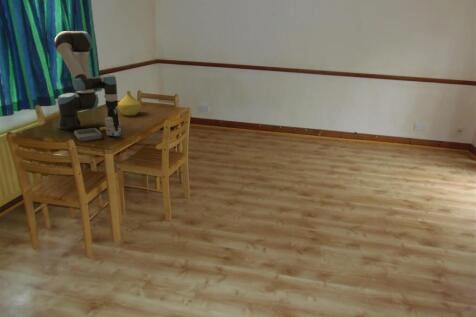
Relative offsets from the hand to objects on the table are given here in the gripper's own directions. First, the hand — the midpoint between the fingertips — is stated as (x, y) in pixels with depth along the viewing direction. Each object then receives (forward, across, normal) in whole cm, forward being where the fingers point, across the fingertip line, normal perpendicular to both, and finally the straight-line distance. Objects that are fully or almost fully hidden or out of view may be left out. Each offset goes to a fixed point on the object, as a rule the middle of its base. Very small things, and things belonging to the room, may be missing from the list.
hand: (114, 133), depth 245 cm
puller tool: (+3, -19, 0) cm, 19 cm away
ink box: (+1, 0, 0) cm, 2 cm away
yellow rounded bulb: (+3, -53, +29) cm, 60 cm away
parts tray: (+2, -8, -15) cm, 17 cm away
